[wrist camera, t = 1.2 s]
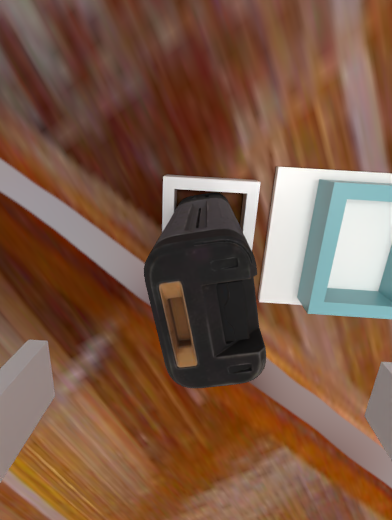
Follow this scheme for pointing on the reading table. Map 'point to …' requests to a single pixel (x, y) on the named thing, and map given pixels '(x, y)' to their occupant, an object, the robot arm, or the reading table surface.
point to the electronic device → (205, 296)
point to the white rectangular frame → (218, 185)
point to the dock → (330, 242)
